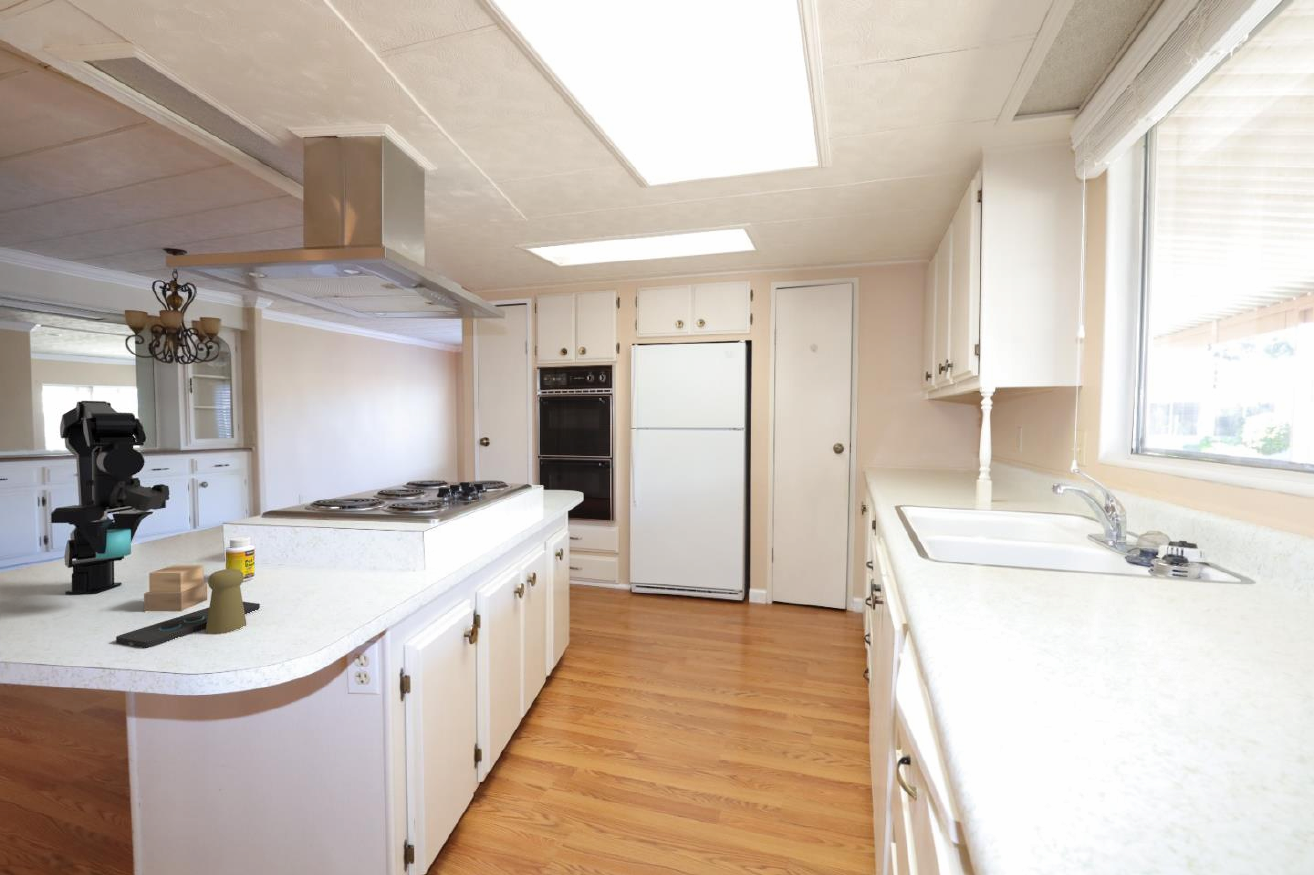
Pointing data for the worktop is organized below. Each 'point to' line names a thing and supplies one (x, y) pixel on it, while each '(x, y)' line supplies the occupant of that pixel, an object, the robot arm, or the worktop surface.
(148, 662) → the worktop surface
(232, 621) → the olive pawn piece
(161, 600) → the brown wooden base block
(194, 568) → the oak top block
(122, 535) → the teal cylinder
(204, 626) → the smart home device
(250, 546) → the supplement bottle
